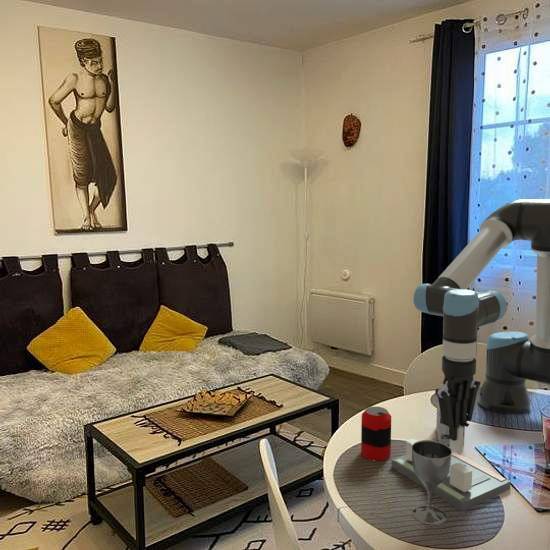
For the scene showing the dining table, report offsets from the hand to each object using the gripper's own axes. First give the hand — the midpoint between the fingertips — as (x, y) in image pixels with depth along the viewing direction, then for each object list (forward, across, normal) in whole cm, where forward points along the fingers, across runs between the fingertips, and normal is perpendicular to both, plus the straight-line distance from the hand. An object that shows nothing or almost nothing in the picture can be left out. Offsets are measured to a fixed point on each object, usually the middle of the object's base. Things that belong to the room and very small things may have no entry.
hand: (456, 450), depth 132 cm
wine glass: (+6, +17, +8) cm, 20 cm away
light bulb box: (+7, -14, -15) cm, 22 cm away
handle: (+4, +6, -7) cm, 10 cm away
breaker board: (+6, +2, 0) cm, 7 cm away
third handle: (+4, +6, +7) cm, 10 cm away
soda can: (+6, +10, -18) cm, 21 cm away
